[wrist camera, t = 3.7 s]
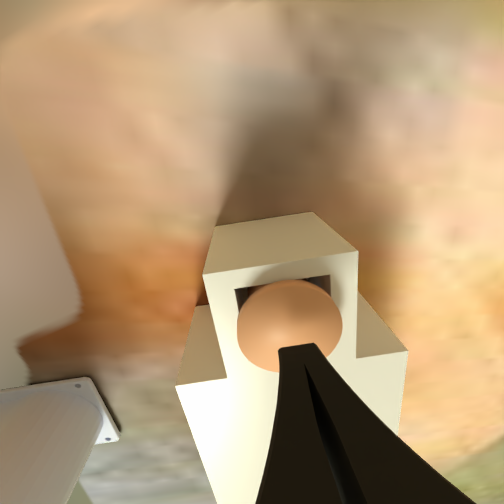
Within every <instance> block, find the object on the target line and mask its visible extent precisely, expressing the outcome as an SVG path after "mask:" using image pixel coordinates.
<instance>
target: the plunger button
mask: <svg viewBox="0 0 504 504" xmlns="http://www.w3.org/2000/svg"><path fill="white" fill-rule="evenodd" d="M342 328H343V323H342V317H341V314H340V311H339V309H338V307H337V306H336V304H335V303H334V301H333V300H332V298H331V297H330V295H329V294H328V293H327V292H326V291H324V290H323V289H322V288H320V287H319V286H317V285H315V284H312V283H310V282H308V281H307V279H306V278H303V279H296V280H282V281H277V282H274V283H270V284H263V285H256V286H250V287H248V299H247V300H246V301H245V303H244V304H243V306H242V308H241V310H240V312H239V315H238V319H237V341H238V344H239V347H240V349H241V351H242V353H243V354H244V356H245V357H246V358H247V359H248V360H249V361H250V362H251V363H253V364H254V365H256V366H258V367H260V368H262V369H265V370H268V371H272V372H279V356H278V350H279V349H280V348H281V347H288V346H294V345H301V344H307V343H315V344H316V345H317V346H318V347H319V349H320V350H321V352H322V353H323V354H324V356H325V357H328V356H329V355H330V354H331V352H332V351H333V350H334V349H335V347H336V346H337V344H338V342H339V340H340V338H341V334H342Z"/></svg>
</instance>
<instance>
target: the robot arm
mask: <svg viewBox="0 0 504 504" xmlns="http://www.w3.org/2000/svg"><path fill="white" fill-rule="evenodd" d="M278 356H279V385H278V395H277V404H276V411H275V417H274V423H273V429H272V435H271V440H270V445H269V450H268V455H267V459H266V463H265V468H264V472H263V476H262V480H261V484H260V487H259V491H258V495H257V499H256V503H255V504H476V503H475V502H473V501H472V500H471V499H470V498H469V497H467V496H466V495H465V494H464V493H462V492H461V491H460V490H459V489H458V488H456V487H455V486H454V485H453V484H451V483H450V482H449V481H448V480H446V479H445V478H444V477H443V476H442V475H440V474H439V473H438V472H437V471H436V470H435V469H434V468H432V467H431V466H430V465H429V464H428V463H427V462H426V461H424V460H423V459H422V458H421V457H420V456H419V455H418V454H416V453H415V452H414V451H413V450H412V449H411V448H410V447H409V446H408V445H407V444H406V443H404V442H403V441H402V440H401V439H400V438H399V437H398V436H397V435H396V434H395V433H394V432H393V431H392V430H391V429H390V428H389V427H388V426H387V425H386V424H385V423H384V422H383V421H382V420H381V419H380V418H379V417H378V416H377V415H376V414H375V413H374V412H373V411H372V410H371V409H370V408H369V407H368V406H367V405H366V404H365V403H364V402H363V401H362V400H361V399H360V398H359V396H358V395H357V394H356V393H355V392H354V391H353V390H352V389H351V387H350V386H349V385H348V384H347V383H346V382H345V381H344V379H343V378H342V377H341V376H340V375H339V374H338V372H337V371H336V370H335V369H334V367H333V366H332V365H331V364H330V362H329V361H328V360H327V358H326V357H325V356H324V354H323V353H322V352H321V350H320V349H319V347H318V346H317V345H316V344H315V343H307V344H301V345H294V346H288V347H281V348H280V349H279V350H278ZM119 438H120V432H119V430H118V429H117V427H116V425H115V423H114V421H113V419H112V417H111V415H110V414H109V412H108V410H107V408H106V406H105V404H104V402H103V400H102V399H101V397H100V395H99V393H98V391H97V389H96V387H95V385H94V384H93V382H92V380H91V379H90V378H88V377H81V378H75V379H68V380H61V381H55V382H48V383H42V384H35V385H28V386H22V387H16V388H9V389H2V390H0V504H67V502H68V499H69V497H70V495H71V493H72V491H73V489H74V487H75V485H76V483H77V480H78V478H79V476H80V474H81V472H82V470H83V468H84V466H85V464H86V462H87V459H88V457H89V455H90V453H91V451H92V449H93V447H94V445H95V444H101V443H108V442H115V441H118V440H119Z"/></svg>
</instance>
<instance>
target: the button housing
mask: <svg viewBox="0 0 504 504" xmlns="http://www.w3.org/2000/svg"><path fill="white" fill-rule="evenodd" d="M202 276H203V280H204V284H205V288H206V292H207V296H208V300H209V304H208V305H202V306H196V307H195V310H194V314H193V318H192V322H191V326H190V330H189V334H188V338H187V342H186V346H185V350H184V353H183V357H182V361H181V365H180V369H179V373H178V377H177V381H176V385H175V387H176V390H177V393H178V395H179V398H180V401H181V404H182V406H183V409H184V412H185V415H186V417H187V420H188V423H189V426H190V429H191V431H192V434H193V437H194V440H195V442H196V445H197V448H198V451H199V453H200V456H201V459H202V462H203V465H204V467H205V470H206V473H207V476H208V478H209V481H210V484H211V487H212V489H213V492H214V495H215V498H216V500H217V503H218V504H255V503H256V499H257V495H258V491H259V487H260V484H261V480H262V476H263V472H264V468H265V463H266V459H267V455H268V450H269V445H270V440H271V435H272V429H273V423H274V417H275V411H276V404H277V395H278V385H279V372H272V371H268V370H265V369H262V368H260V367H258V366H256V365H254V364H253V363H251V362H250V361H249V360H248V359H247V358H246V357H245V356H244V354H243V353H242V351H241V349H240V347H239V344H238V341H237V319H238V315H239V312H240V310H241V308H242V306H243V304H244V303H245V301H246V300H247V299H248V287H250V286H256V285H263V284H270V283H274V282H277V281H282V280H296V279H303V278H306V279H307V281H308V282H310V283H312V284H315V285H317V286H319V287H320V288H322V289H323V290H324V291H326V292H327V293H328V294H329V295H330V297H331V298H332V300H333V301H334V303H335V304H336V306H337V307H338V309H339V311H340V314H341V317H342V323H343V328H342V334H341V338H340V340H339V342H338V344H337V346H336V347H335V349H334V350H333V351H332V352H331V354H330V355H329V356H328V357H326V358H327V360H328V361H329V362H330V364H331V365H332V366H333V367H334V369H335V370H336V371H337V372H338V374H339V375H340V376H341V377H342V378H343V379H344V381H345V382H346V383H347V384H348V385H349V386H350V387H351V389H352V390H353V391H354V392H355V393H356V394H357V395H358V396H359V398H360V399H361V400H362V401H363V402H364V403H365V404H366V405H367V406H368V407H369V408H370V409H371V410H372V411H373V412H374V413H375V414H376V415H377V416H378V417H379V418H380V419H381V420H382V421H383V422H384V423H385V424H386V425H387V426H388V427H389V428H390V429H391V430H392V431H393V432H394V433H395V434H396V435H397V436H398V428H399V420H400V412H401V405H402V397H403V389H404V381H405V373H406V365H407V358H408V350H407V349H406V347H405V346H404V345H403V344H402V343H401V341H400V340H399V339H398V338H397V337H396V336H395V334H394V333H393V332H392V331H391V330H390V328H389V327H388V326H387V325H386V324H385V322H384V321H383V320H382V319H381V318H380V316H379V315H378V314H377V313H376V312H375V311H374V309H373V308H372V307H371V306H370V305H369V303H368V302H367V301H366V300H365V299H364V297H363V296H362V295H361V294H360V293H359V292H358V290H357V289H358V250H357V249H355V248H354V247H353V246H352V245H351V244H350V243H348V242H347V241H346V240H345V239H344V238H343V237H341V236H340V235H339V234H338V233H337V232H336V231H334V230H333V229H332V228H331V227H330V226H329V225H327V224H326V223H325V222H324V221H323V220H322V219H320V218H319V217H318V216H317V215H316V214H315V213H313V212H306V213H299V214H293V215H286V216H280V217H273V218H267V219H260V220H253V221H247V222H240V223H234V224H227V225H221V226H215V229H214V232H213V236H212V240H211V244H210V247H209V251H208V255H207V259H206V262H205V266H204V270H203V274H202Z"/></svg>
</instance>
